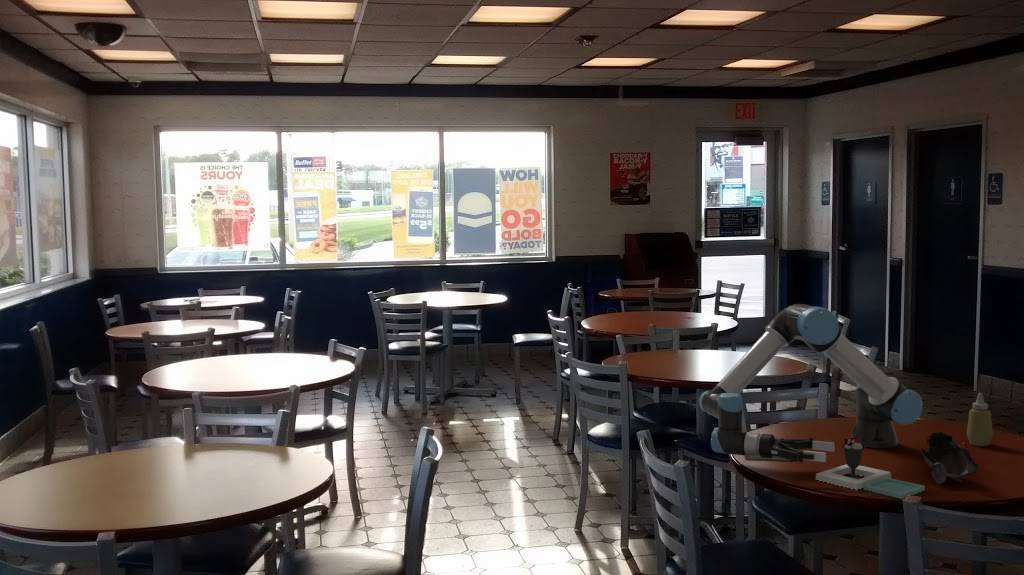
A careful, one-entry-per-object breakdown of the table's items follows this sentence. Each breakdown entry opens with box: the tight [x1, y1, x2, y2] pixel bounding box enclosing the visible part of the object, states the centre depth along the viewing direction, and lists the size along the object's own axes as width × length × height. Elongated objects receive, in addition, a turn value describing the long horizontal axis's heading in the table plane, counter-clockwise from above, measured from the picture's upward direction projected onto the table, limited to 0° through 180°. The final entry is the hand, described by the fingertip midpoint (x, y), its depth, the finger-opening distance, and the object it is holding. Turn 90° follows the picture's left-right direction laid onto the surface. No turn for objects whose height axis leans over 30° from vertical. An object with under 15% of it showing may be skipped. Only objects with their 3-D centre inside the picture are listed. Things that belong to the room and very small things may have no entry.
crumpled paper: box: [921, 431, 979, 484], centre depth 286 cm, size 14×15×20 cm
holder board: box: [815, 463, 892, 491], centre depth 287 cm, size 18×14×2 cm
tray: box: [863, 477, 926, 500], centre depth 276 cm, size 12×12×1 cm
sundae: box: [841, 432, 866, 479], centre depth 287 cm, size 7×7×15 cm
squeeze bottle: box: [966, 392, 994, 447], centre depth 324 cm, size 8×8×18 cm
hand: (830, 452), depth 289 cm, fingers open, 13 cm apart
